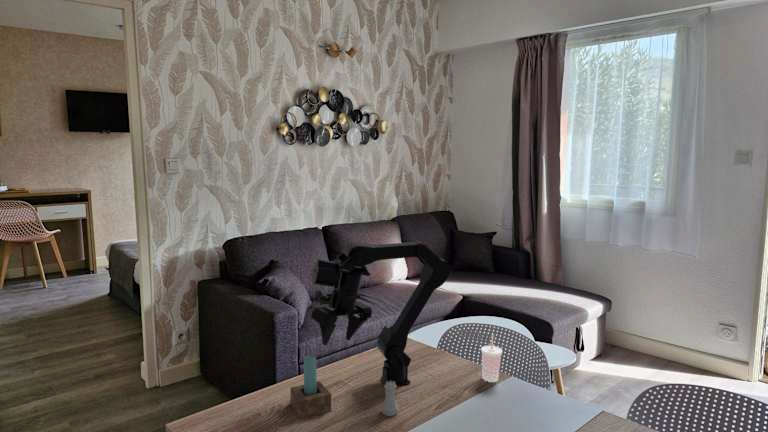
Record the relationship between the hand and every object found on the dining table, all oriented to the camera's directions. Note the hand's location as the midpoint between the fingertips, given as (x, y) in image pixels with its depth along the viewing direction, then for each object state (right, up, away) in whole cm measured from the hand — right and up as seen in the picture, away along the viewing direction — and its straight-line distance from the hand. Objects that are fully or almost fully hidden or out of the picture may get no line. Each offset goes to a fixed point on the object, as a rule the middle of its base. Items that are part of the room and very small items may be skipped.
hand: (336, 342), depth 139 cm
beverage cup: (+44, -13, +10) cm, 48 cm away
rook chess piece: (+15, -16, -10) cm, 24 cm away
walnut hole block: (-6, -15, -9) cm, 18 cm away
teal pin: (-6, -14, -9) cm, 18 cm away
